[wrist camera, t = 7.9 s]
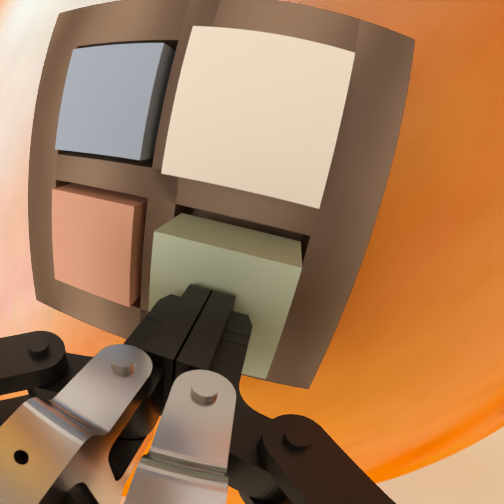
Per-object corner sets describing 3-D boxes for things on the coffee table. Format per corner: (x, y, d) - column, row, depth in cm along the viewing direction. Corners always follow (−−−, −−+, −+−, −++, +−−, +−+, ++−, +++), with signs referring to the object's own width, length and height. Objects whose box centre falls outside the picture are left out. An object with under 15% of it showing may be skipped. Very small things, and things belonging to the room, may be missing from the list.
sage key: (300, 241, 11) (302, 268, 9) (271, 340, 13) (265, 379, 10) (181, 212, 11) (154, 231, 9) (170, 313, 13) (147, 345, 11)
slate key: (186, 58, 11) (164, 42, 9) (166, 156, 13) (139, 160, 10) (103, 58, 11) (73, 49, 9) (87, 145, 13) (54, 149, 10)
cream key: (341, 72, 9) (355, 52, 6) (313, 194, 10) (318, 208, 8) (214, 49, 9) (193, 25, 7) (188, 166, 11) (161, 173, 8)
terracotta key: (160, 195, 13) (134, 206, 11) (151, 283, 15) (129, 307, 12) (83, 180, 13) (52, 188, 11) (81, 260, 15) (55, 279, 13)
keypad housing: (389, 61, 11) (414, 39, 8) (307, 347, 17) (308, 389, 13) (96, 28, 12) (59, 13, 9) (69, 276, 18) (36, 299, 14)
